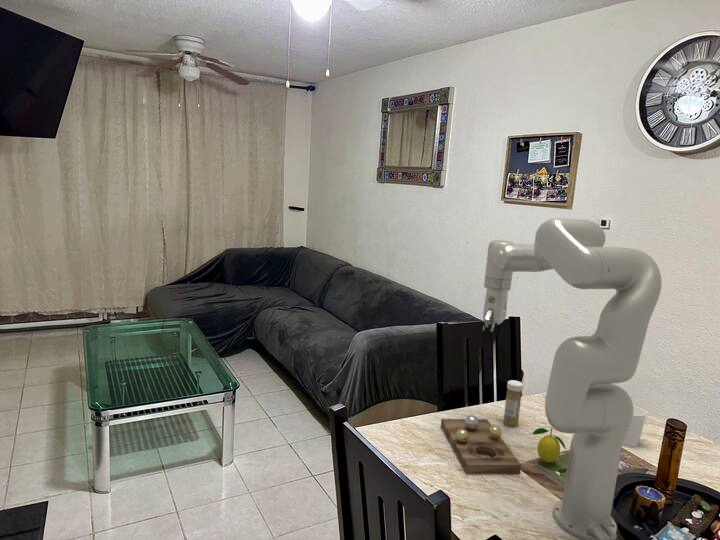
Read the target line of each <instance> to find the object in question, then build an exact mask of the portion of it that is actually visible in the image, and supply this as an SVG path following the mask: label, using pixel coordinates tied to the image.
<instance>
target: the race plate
mask: <svg viewBox="0 0 720 540" xmlns="http://www.w3.org/2000/svg"><path fill="white" fill-rule="evenodd" d="M477 419H478V421H479V425H478V427H477V428H476V429H474V430H470V429H468V428H467V427H466V426H465V423H464V422H465V418H441V422H440V428H441V429H442V431H443V434H444V435H445V437H446V439H447V441H448V443H449V445H450V446H451V448H452V450H453V452H454V454H455V456H456V458H457V459H458V462H459V463H460V465H461V467H462V469H463V471H464V472H465V474H466V475H504V474H505V475H512V474H513V475H520V474H521V470H522V468H521V467H522V464H521V463H520V461H519V460H518V459H517V457H516V456H515V454H514V453H513V452H512V450H511V449H510V448H509V446H508V445H507V444H506V442H505V441H504V440H503V438H502V437H501V436H500V437H499V438H498V439H493V438H491V437H490V435H489V433H488V431H489V428H490V427H491V426H493V425H492V423H490V421H489V420H488V419H487V418H477ZM459 429H464V430H466V431H467V432H468V434H469V438H468V440H467V441H466V442H464V443H461V442H459V441H458V440H457V439H456V432H457V431H458V430H459ZM486 456H487V457H486Z"/></svg>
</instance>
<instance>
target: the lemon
mask: <svg viewBox="0 0 720 540" xmlns="http://www.w3.org/2000/svg"><path fill="white" fill-rule="evenodd" d="M552 431H553V427H551V428H550V430H548V429H546V428H543V427H539V428H537V429H535V430H534V431H533V432H532V434H531V435H541V434H542V435H543V434H546V433H550V434H549V435H545V436H543V437H542V438H540V440H539V441H538V444H537V455H538V456H539V457H540V459H542V460H543V461H544V462H545V463H547V464H549V463H554V462H556V461H557V460H558V459H559V457H560V453H561V446H562V447H563V448H564V450H567V447H566V444H565V443H564V441H563V440H562V439H561V437H559V436H556V435H554V434H553V432H552ZM560 444H561V446H560Z"/></svg>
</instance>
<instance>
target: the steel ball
mask: <svg viewBox="0 0 720 540" xmlns="http://www.w3.org/2000/svg"><path fill="white" fill-rule="evenodd" d="M464 419H465V422H464V423H465V426H466V427H467V428H468V429H470V430H474V429H476V428H477V427H478V425H479V421H478V419H479V418H478V417H477V416H475V415H473V414H472V415H471V414H469V415H468V416H466V417H465V418H464Z"/></svg>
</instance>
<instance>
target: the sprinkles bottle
mask: <svg viewBox="0 0 720 540" xmlns="http://www.w3.org/2000/svg"><path fill="white" fill-rule="evenodd" d="M506 389H507V390H506V397H505V403H504V416H503V421H502V423H503V424H504V425H505V426H506V427H510V428H516V427H519V421H520V420H519V418H520V413H521V412H520V411H521V400H522V393H523V389H524V384H523V382H521V381H518V380H514V379H511V380H508V381H507V384H506Z"/></svg>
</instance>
